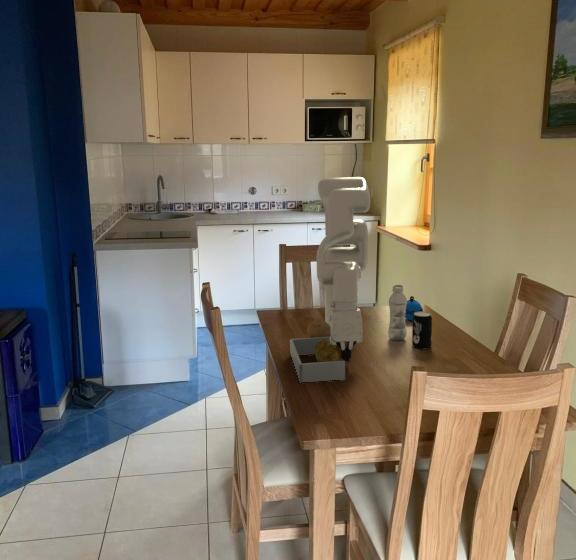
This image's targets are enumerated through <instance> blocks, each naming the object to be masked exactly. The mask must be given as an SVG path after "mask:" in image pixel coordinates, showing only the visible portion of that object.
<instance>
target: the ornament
mask: <svg viewBox="0 0 576 560" xmlns="http://www.w3.org/2000/svg"><path fill="white" fill-rule="evenodd" d="M419 311H424V309H423V306H422V304H421V303H420V302H419V301H417V300H415V296H412V295H411V296H410V297H409V299H407V305H406V312H405V320H407V321H410V322H411V321H412V322H413V316H414V313H415V312H419Z"/></svg>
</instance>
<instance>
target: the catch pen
mask: <svg viewBox="0 0 576 560" xmlns="http://www.w3.org/2000/svg"><path fill="white" fill-rule="evenodd" d="M322 340H330V336H329V337H315V338H308V337H305V338H290V339H289V355H290V354H291V357H292V360H293V362H292V364H293V363H294V365H293V367H294V366H295V368H294V370H295V369H296V371H295V373H296V372H297V374H296V376H297V375H298V377H297V379H298V378H299V379H298V382H299V381H300V382H312V381H328V380H329V381H328V382H333V381H332V380H340V381H345V380H346V362H345V361H344V360H339V361H330V362H317V361H316V362H307V363H302V360H301V358H300V356H299V355H298V354H315V348H316V345H317V343H318V342H320V341H322ZM291 357H290V358H291ZM292 360H291V361H292ZM330 380H331V381H330ZM300 382H299V383H300Z"/></svg>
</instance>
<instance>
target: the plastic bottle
mask: <svg viewBox="0 0 576 560" xmlns="http://www.w3.org/2000/svg"><path fill="white" fill-rule="evenodd" d="M391 291H392V293H391V295H390V296H389V298H388V307H389V325H388V330H387V335H388V338H389V339H390V340H393V341H403V340H405V339H406V336H407V326H406V318H405V312H406V305H407V301H408V299H407V297H406V295H405V293H403V292H404V285H402V284H393V285H392V290H391Z"/></svg>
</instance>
